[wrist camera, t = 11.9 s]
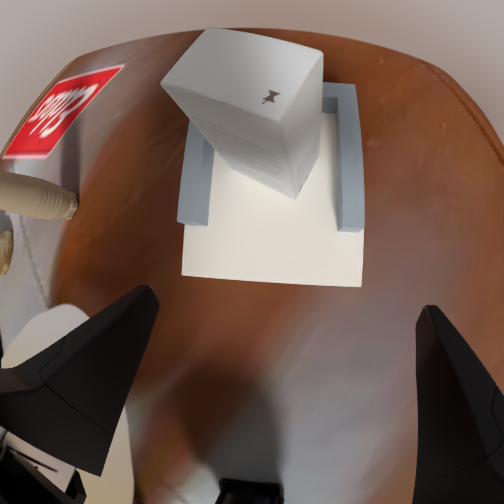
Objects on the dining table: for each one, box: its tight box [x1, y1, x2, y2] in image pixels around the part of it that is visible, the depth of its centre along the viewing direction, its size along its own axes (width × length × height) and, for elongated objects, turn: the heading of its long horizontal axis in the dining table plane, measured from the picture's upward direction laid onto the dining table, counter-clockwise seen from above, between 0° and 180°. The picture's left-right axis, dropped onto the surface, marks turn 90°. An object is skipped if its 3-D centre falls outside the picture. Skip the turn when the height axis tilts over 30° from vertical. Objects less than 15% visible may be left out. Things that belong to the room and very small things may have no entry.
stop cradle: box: [177, 82, 364, 287], centre depth 20 cm, size 16×14×4 cm
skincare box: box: [160, 27, 323, 200], centre depth 15 cm, size 6×4×12 cm
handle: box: [0, 170, 78, 220], centre depth 19 cm, size 5×6×15 cm
